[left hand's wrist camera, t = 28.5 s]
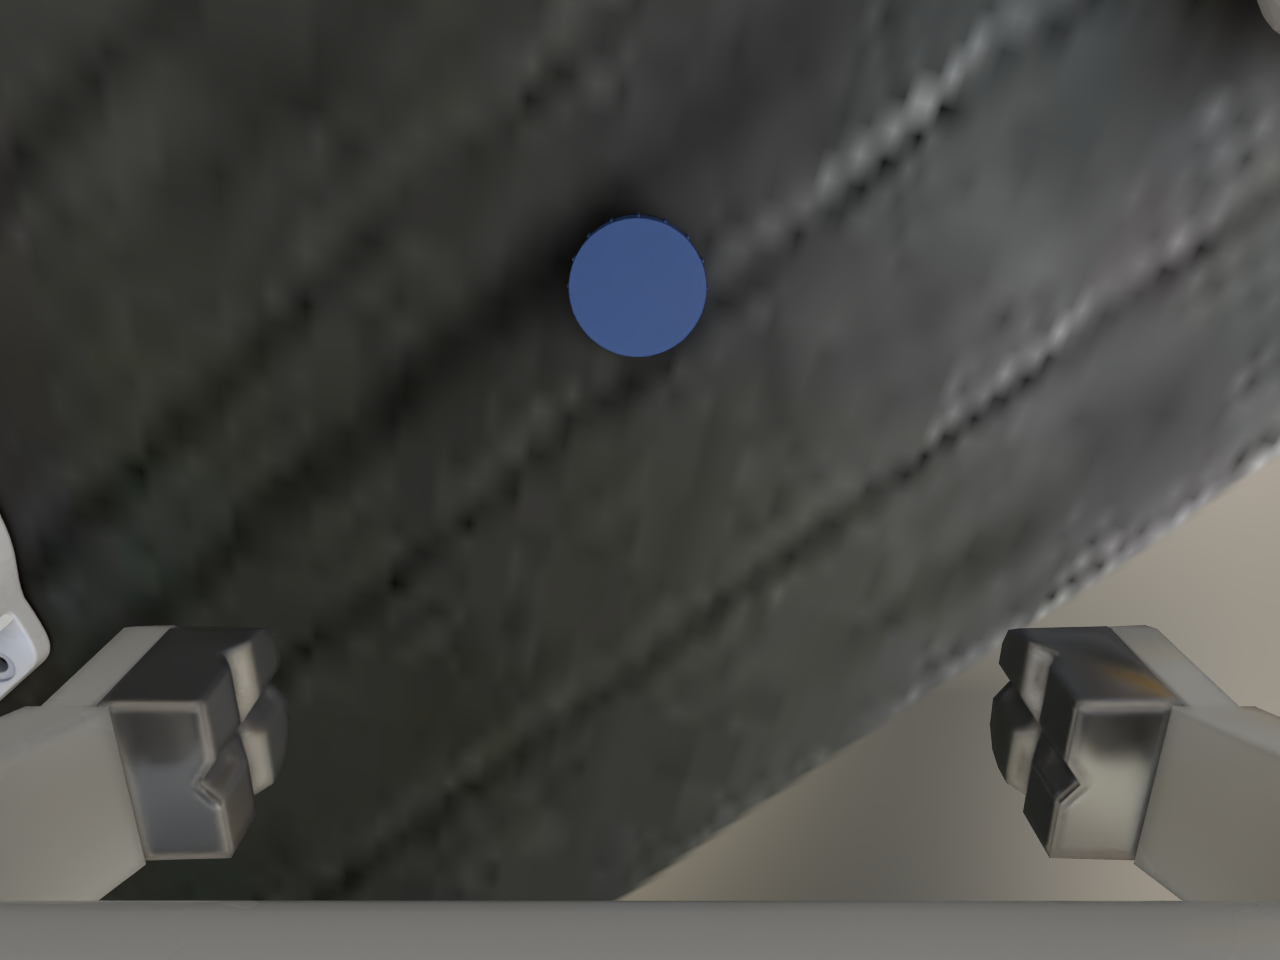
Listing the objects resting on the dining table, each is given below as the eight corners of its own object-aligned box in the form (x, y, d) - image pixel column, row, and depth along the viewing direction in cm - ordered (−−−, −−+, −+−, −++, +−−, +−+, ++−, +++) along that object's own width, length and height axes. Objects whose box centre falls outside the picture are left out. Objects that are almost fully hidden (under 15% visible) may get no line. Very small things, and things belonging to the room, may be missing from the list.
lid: (544, 300, 38) (540, 307, 36) (619, 184, 36) (618, 187, 35) (654, 374, 39) (654, 384, 37) (731, 265, 37) (735, 271, 36)
